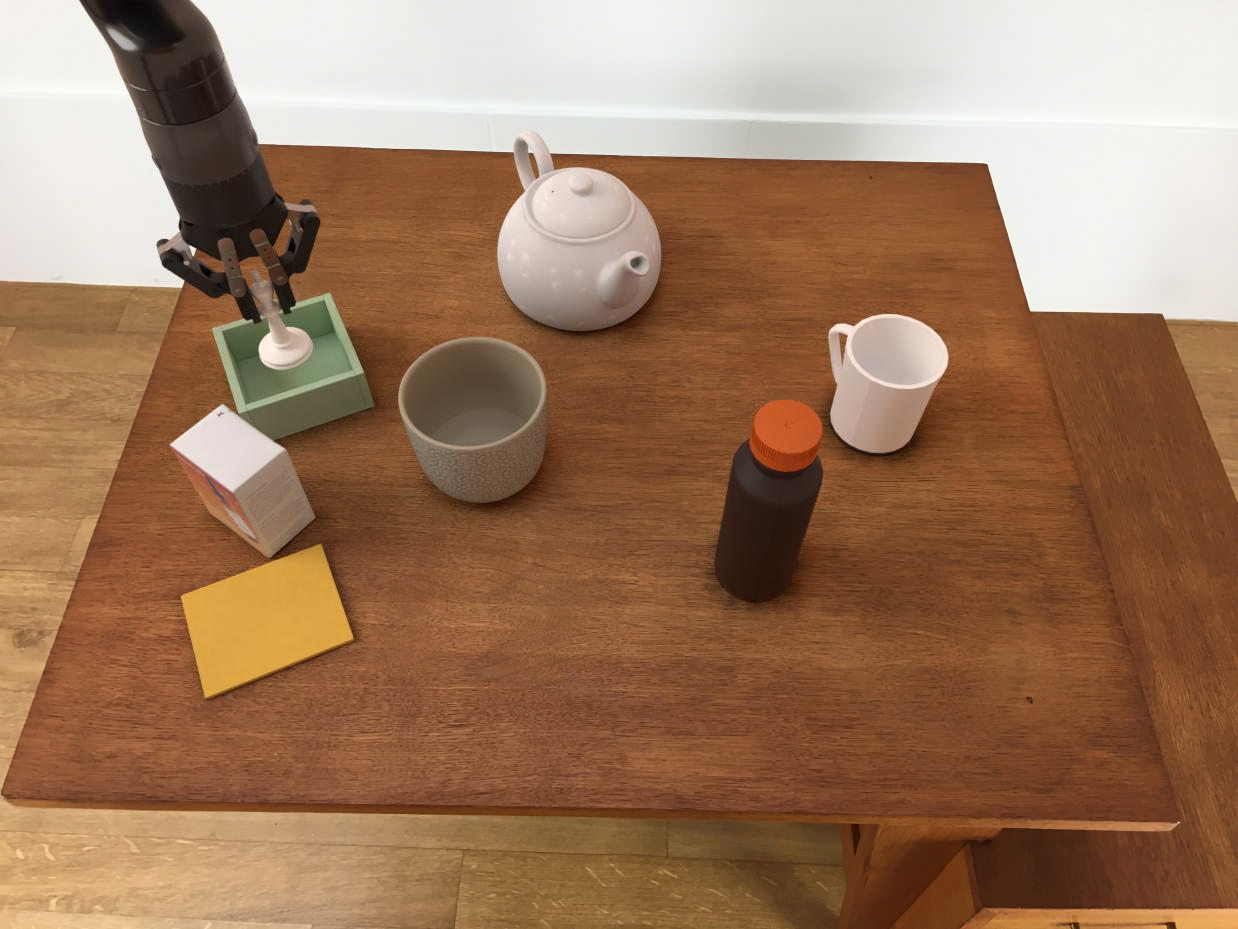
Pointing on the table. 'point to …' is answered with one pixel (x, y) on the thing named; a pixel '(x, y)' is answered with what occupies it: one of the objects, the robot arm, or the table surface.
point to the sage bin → (294, 372)
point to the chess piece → (278, 331)
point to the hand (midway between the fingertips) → (270, 312)
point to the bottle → (769, 501)
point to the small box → (244, 480)
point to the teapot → (576, 245)
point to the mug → (883, 380)
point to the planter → (476, 417)
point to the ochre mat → (265, 620)
